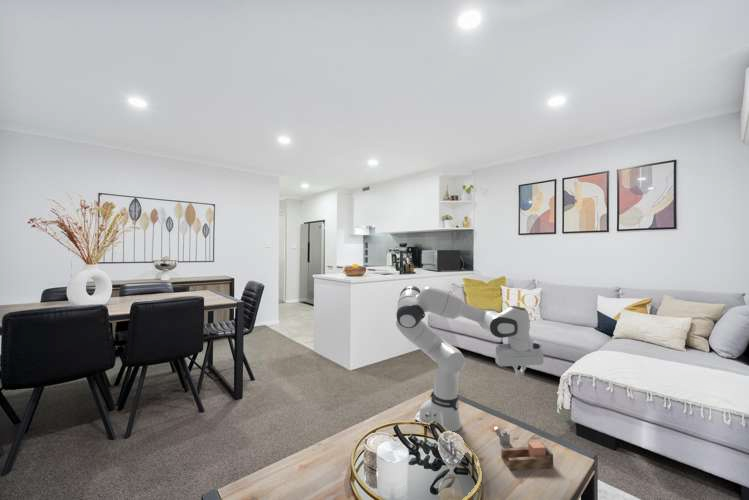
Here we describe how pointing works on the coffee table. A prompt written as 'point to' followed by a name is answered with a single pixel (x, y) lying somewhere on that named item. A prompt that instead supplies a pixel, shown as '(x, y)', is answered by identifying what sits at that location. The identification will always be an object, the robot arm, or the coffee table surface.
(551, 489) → the coffee table surface
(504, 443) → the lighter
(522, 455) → the brown wooden open box
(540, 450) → the block
